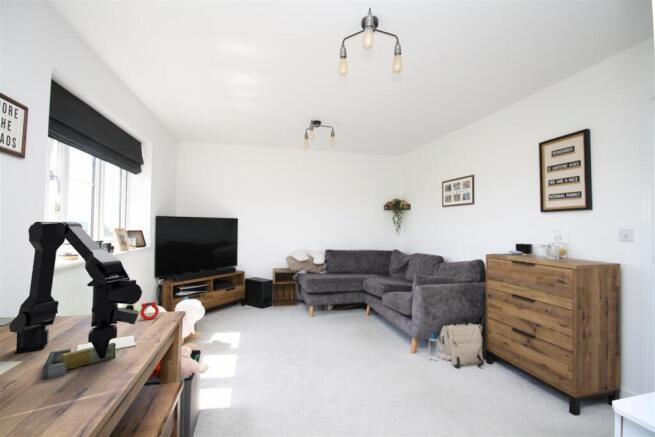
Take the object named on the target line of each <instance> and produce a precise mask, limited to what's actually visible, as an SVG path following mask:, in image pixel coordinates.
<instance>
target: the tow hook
mask: <svg viewBox="0 0 655 437" xmlns="http://www.w3.org/2000/svg"><path fill="white" fill-rule="evenodd" d="M156 304H157V302H156V301H152V302H151V301H149V302H143V303H141V306H140V307H141V309H140V312H139V314H140V316H141V318H142V319H144V320H147V321H149V320H154V319H155V318H157V316H158V314H159V312H160V311H159V310H160V309H159V307H158V305H156ZM149 307H151V308H152V309H154V311H155V312H154V314H153V315H151V316H147V315H146V314H145V312H146V311H147V309H148V308H149Z"/></svg>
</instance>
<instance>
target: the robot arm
mask: <svg viewBox="0 0 655 437" xmlns="http://www.w3.org/2000/svg"><path fill="white" fill-rule="evenodd" d="M27 232H28V242H29V243H30V245H31V246H32V247H33V249H34V256H33V262H32V263H33V264H32V272H31V279H30V286H29V294H28V296H27V297H26V299H24V301H23V302H22V304H21V305H20V307H19V310H18V314H17V316H15V317H14V319H13V320H12V321H11V322H10V323H9V325H8V328H9V331H10V333H15V334H16V342H15V344H16V345H15V346H16V347H15V350H14V352H13V353H14V354H20V353H27V352H32V351H38V350H43V349H45V348H46V346H47V345H48V344H49V341H50V340H49V339H50V329H49V328H48V327H49V326H51V325H54V322H55V319H56V317H57V316H56V315H57V314H58V313H59V311H58V307H59V304H60V303H59V300H56V299H54V297H53V296H52V289H53V283H54V274H55V266H56V259H57V250H59V249H60V247H61V246H62V245H63V244H64V243H65V241H67V242H68V244H70V246H71V247H72V248H73V249H74V250H75V252H77V253H78V255H79V256H80V257H81V258H82V259H83V260H84V262H85V264H84V269H85V271H86V272H87V274H88V275H89V277H90V278H91V279H92V280H91V281H90V282H89V283H87V285H86V286H87V287H92V307H91V323H90V327H91V329H90V330H89V331H88V336H87V337H88V340H87V342H88V343H92V345H93V346H94V348H95V350H96V352H97V354H98V356H99V357H100V359H103V358H105V356H106V352H107V349H108V345H109V342H110V340H111V339H116V338H118V327H117V324H118V322H121V323H127V324H129V325H135V324H136V322H137V320H138V318H139V314H140V312H139V311H138V309H134V308H135V307H134V304H137V303H138V302H140V299H141V298H142V295H143V289H142V287H141V286H140V285H139V284H137V279H131V278H130V277H129V274H128V273H127V271H126V269H125V267H124V265H123V263H122V261H121V260H120V259H119V258H117V256H116V255H114V254H113V253H109V252H106V251H104V249H102V248H101V247H100V246H99V245H98V244H97V242H96V241H95V240H94V239H93V238H92V237H91V236H90V235H89V234H88V232H86V230H85V229H83V225H82V224H81V222H76V221H62V222H61V221H35V222H33V224H31V225H30V226H29V228H28V231H27ZM119 304H121V305H126V306H125V307H119Z"/></svg>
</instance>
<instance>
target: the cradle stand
mask: <svg viewBox="0 0 655 437" xmlns="http://www.w3.org/2000/svg"><path fill="white" fill-rule="evenodd" d="M69 352H72V348H66V349H61V350H60V349H59V350H55V351H50V352H49V354H48V356H47V359H46V361H45V362H44V365H43V367H42V379H41V380H43V381H44V380H47V379H53V378H58V377H63V376H66V375H67V370H66V364H67V362H63V363H61V358H62V354H65V353H69Z"/></svg>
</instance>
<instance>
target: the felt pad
mask: <svg viewBox="0 0 655 437" xmlns="http://www.w3.org/2000/svg"><path fill="white" fill-rule="evenodd" d="M109 343H115V344H116V349H115V351H118V350H123V349H127V348H132V347H136V341H135V336H134V335H128V336H123V337H117V338H114V339H111V340H110V342H109ZM91 347H94V346H93V345H92V343H90V342H88V343H81V344H78V345H77V348H76V350H75V351H78V350H82V349H87V348H91Z"/></svg>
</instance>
